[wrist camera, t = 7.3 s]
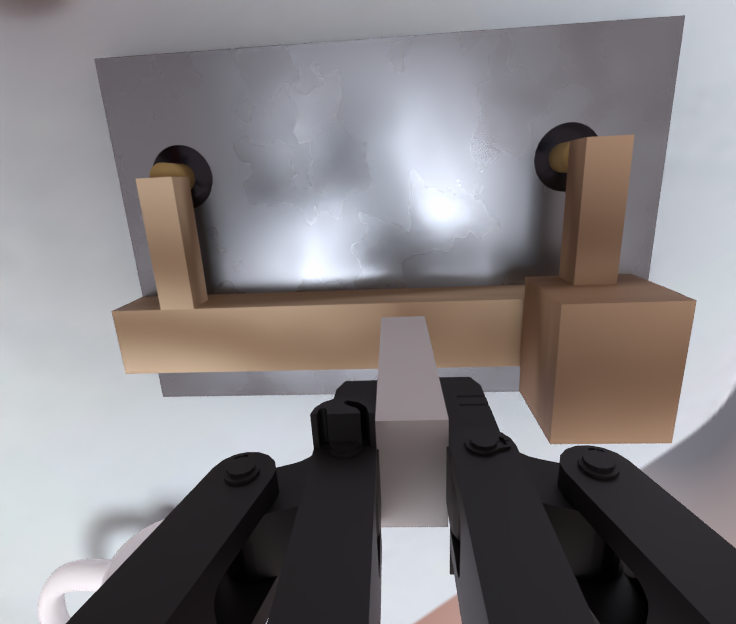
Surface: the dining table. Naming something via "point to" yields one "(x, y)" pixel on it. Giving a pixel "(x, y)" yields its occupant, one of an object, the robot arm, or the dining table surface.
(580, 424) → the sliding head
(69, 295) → the dining table surface
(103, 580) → the mug
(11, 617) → the dining table surface
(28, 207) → the dining table surface
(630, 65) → the bolt plate
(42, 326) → the dining table surface
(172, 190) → the beam
